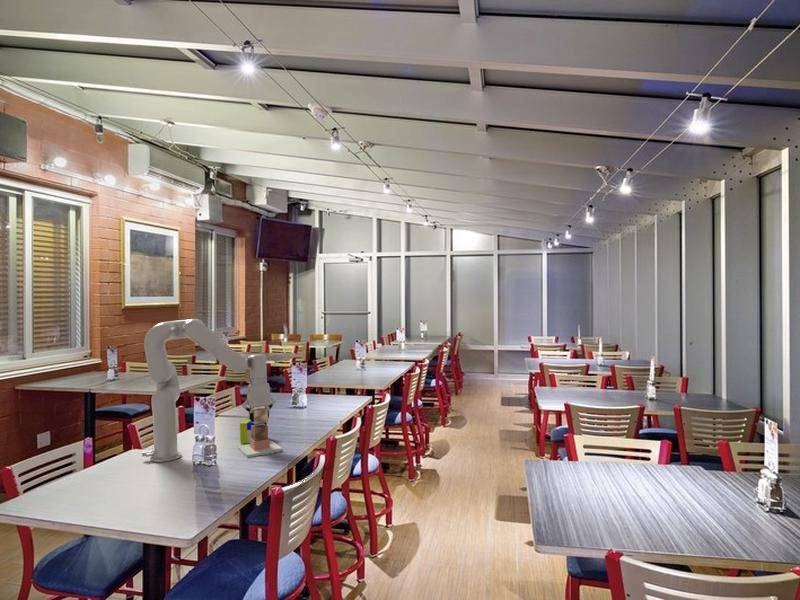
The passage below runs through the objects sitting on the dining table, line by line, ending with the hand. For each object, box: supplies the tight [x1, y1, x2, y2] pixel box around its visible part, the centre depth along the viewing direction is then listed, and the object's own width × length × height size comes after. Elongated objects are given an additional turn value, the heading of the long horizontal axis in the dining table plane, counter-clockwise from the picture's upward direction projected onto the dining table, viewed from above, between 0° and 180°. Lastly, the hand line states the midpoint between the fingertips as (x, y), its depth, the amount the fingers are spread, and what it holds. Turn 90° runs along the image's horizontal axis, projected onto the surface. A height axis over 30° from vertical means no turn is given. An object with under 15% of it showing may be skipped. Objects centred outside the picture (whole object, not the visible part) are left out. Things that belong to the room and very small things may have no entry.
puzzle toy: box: [239, 417, 268, 443], centre depth 249 cm, size 10×10×10 cm
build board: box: [237, 437, 283, 459], centre depth 234 cm, size 16×16×5 cm
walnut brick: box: [251, 424, 269, 441], centre depth 234 cm, size 6×6×6 cm
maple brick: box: [251, 406, 269, 424], centre depth 234 cm, size 6×6×6 cm
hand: (259, 419), depth 234 cm, fingers closed on maple brick, 6 cm apart
